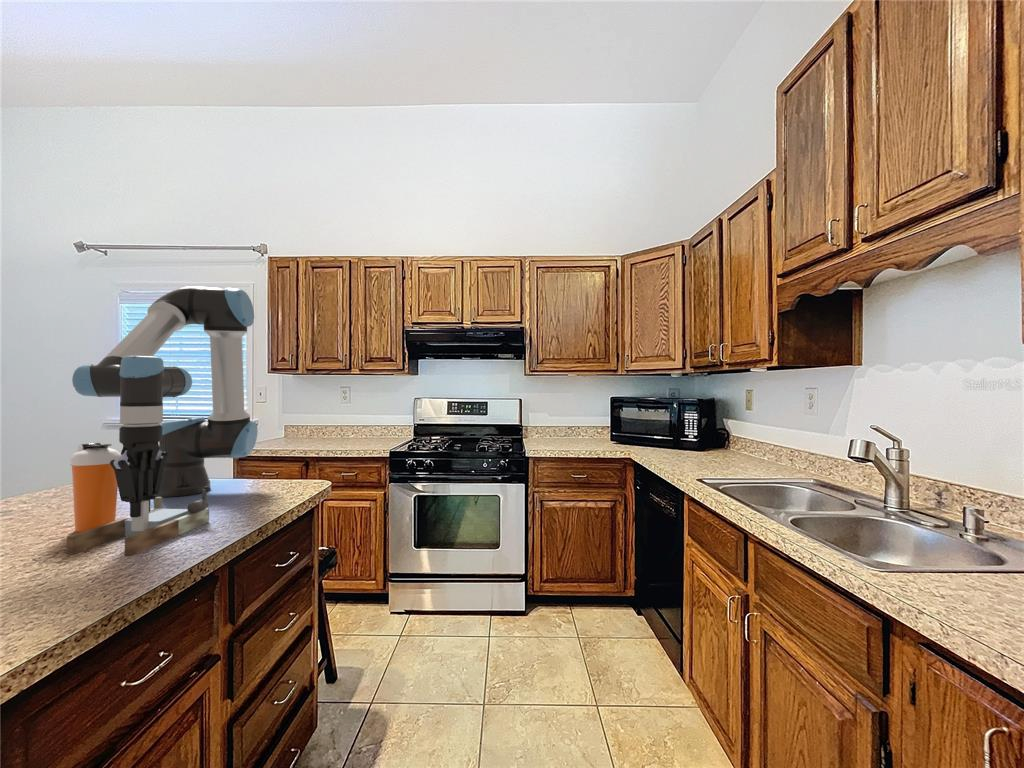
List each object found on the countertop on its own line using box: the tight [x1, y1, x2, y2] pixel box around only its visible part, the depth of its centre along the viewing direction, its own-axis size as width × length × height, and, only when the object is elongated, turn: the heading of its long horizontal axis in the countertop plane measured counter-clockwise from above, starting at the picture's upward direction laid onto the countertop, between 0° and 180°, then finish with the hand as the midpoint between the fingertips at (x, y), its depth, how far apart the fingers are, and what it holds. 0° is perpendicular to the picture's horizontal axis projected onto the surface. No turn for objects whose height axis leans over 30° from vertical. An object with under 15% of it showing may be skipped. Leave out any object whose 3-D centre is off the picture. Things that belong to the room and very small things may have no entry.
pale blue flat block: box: [124, 507, 190, 538], centre depth 108 cm, size 10×8×4 cm
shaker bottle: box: [70, 442, 121, 533], centre depth 109 cm, size 9×9×20 cm
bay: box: [66, 486, 211, 557], centre depth 104 cm, size 23×14×9 cm, turn 178°
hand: (140, 529), depth 103 cm, fingers closed
